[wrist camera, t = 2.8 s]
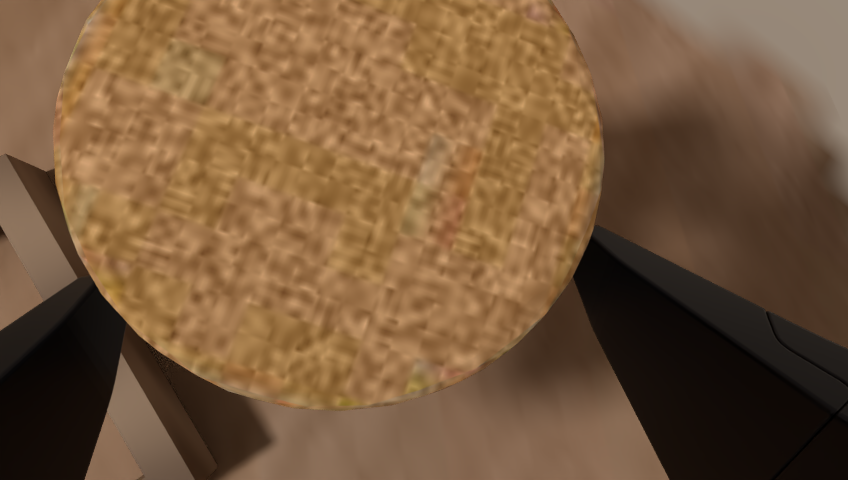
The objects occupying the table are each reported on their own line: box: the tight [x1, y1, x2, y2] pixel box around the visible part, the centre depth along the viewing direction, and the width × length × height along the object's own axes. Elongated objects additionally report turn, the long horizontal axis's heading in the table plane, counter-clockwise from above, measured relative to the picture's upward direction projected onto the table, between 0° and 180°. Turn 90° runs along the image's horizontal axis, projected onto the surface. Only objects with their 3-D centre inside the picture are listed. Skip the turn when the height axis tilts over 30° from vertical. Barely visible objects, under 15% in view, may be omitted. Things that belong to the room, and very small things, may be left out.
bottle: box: [53, 0, 605, 411], centre depth 11 cm, size 6×6×15 cm
